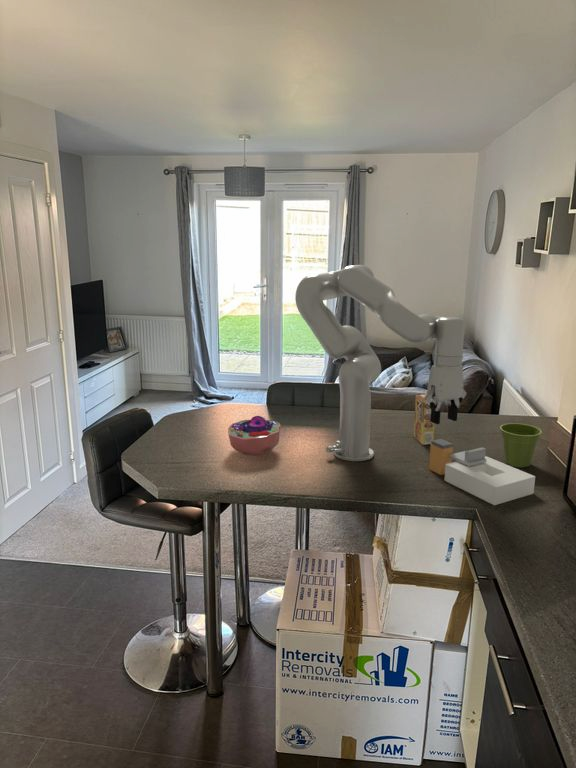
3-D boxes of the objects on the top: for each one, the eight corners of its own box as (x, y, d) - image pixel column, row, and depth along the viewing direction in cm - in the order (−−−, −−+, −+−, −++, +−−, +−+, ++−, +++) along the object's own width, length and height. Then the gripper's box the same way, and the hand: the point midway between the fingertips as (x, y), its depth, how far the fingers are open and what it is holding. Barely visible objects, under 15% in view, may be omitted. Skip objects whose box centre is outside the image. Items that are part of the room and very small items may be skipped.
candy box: (433, 444, 190) (437, 400, 186) (421, 445, 190) (424, 401, 186) (424, 436, 199) (427, 394, 195) (412, 436, 198) (415, 394, 194)
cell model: (215, 458, 177) (214, 423, 174) (247, 439, 195) (246, 407, 192) (263, 467, 170) (263, 431, 167) (291, 446, 188) (291, 414, 185)
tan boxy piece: (440, 475, 165) (443, 445, 163) (429, 469, 169) (430, 440, 167) (451, 472, 167) (453, 443, 165) (439, 466, 171) (441, 438, 169)
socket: (494, 505, 146) (496, 487, 144) (444, 480, 161) (445, 464, 160) (533, 493, 153) (535, 476, 151) (481, 470, 168) (483, 455, 167)
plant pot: (491, 456, 180) (494, 422, 177) (529, 457, 179) (532, 423, 177) (504, 470, 168) (507, 435, 165) (544, 471, 168) (548, 435, 165)
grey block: (469, 466, 157) (470, 453, 157) (448, 457, 164) (449, 444, 163) (486, 462, 161) (487, 449, 160) (465, 453, 167) (467, 441, 166)
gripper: (460, 355, 167) (455, 414, 172) (415, 361, 159) (412, 422, 163) (480, 360, 161) (474, 420, 165) (434, 366, 153) (430, 429, 157)
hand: (443, 420), depth 164 cm, fingers open, 6 cm apart
